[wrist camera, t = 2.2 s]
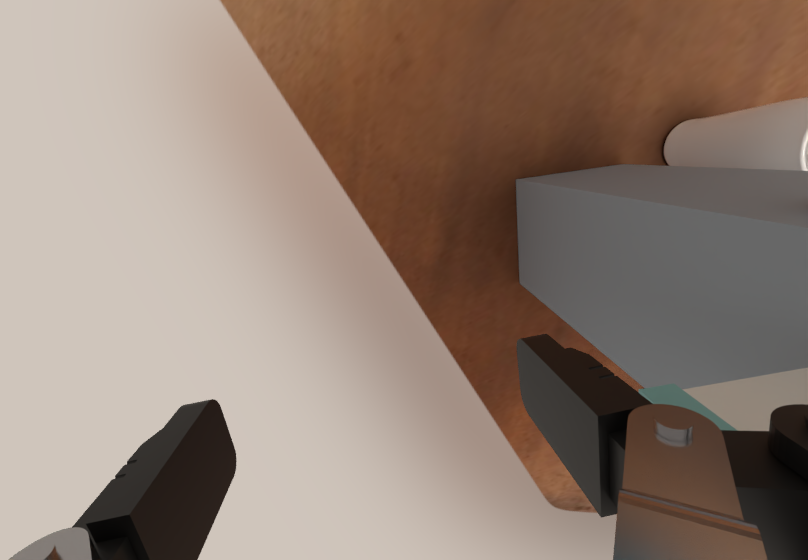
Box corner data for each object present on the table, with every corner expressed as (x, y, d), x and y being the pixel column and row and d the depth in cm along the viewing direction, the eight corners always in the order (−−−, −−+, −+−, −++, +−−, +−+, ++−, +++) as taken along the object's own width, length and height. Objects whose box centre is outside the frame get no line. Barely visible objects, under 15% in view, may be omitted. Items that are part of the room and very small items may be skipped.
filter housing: (515, 160, 41) (1523, 198, 5) (623, 144, 41) (2192, 85, 6) (520, 298, 46) (1049, 793, 10) (616, 283, 47) (1429, 701, 11)
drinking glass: (657, 186, 43) (800, 201, 29) (650, 125, 41) (801, 109, 27) (715, 165, 43) (886, 170, 29) (711, 103, 41) (894, 75, 27)
